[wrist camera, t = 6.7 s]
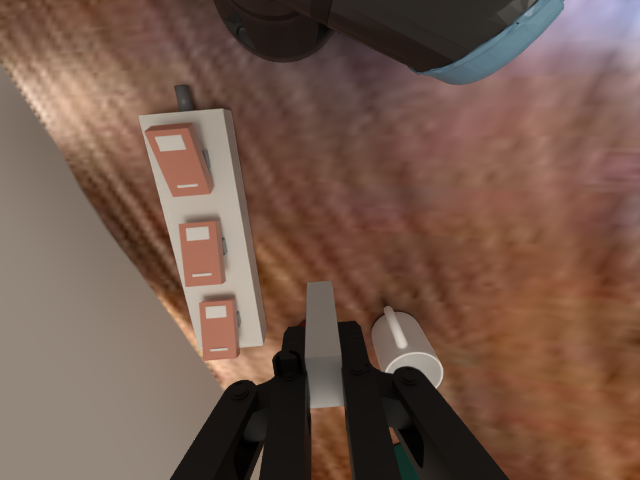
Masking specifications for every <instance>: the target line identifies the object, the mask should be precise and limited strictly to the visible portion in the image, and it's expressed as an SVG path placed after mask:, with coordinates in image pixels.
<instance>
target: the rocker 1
mask: <svg viewBox="0 0 640 480" xmlns="http://www.w3.org/2000/svg"><path fill="white" fill-rule="evenodd" d="M144 132H145V135H146V137H147V139H148V141H149V144H150V146H151V148H152V151H153V153H154V155H155V157H156V160H157V162H158V164H159V167H160V169H161V171H162V173H163V176H164V178H165V180H166V182H167V185H168V187H169V189H170V192H171V194H172V196H173V197H181V196H193V195H205V194H211V192H212V190H213V187H214V186H213V183H212V180H211V177H210V174H209V171H208V168H207V165H206V162H205V159H204V156H203V152H202V149H201V146H200V143H199V140H198V137H197V134H196V131H195V128H194V125H193V122H191V123H179V124H167V125H155V126H150V127H149V128H148V129H147V130H146V131H144Z"/></svg>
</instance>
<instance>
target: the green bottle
mask: <svg viewBox="0 0 640 480" xmlns="http://www.w3.org/2000/svg"><path fill="white" fill-rule="evenodd" d="M394 450H395V454H396V458H397V462H398V466H399V470H400V474H401V477H402V480H420V478H419V476H418V474H417V472H416V471H415V469H414V467H413V465H412V463H411V461H410V460H409V458H408V456H407V454H406V452H405V450H404V448H403V447H402V445H401V444H398V445H395V446H394Z"/></svg>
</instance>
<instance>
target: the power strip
mask: <svg viewBox="0 0 640 480" xmlns="http://www.w3.org/2000/svg"><path fill="white" fill-rule="evenodd" d="M174 87H175V92H176V96H177V101H178V106H179V110H180V112H174V113H162V114H150V115H138V116H139V120H140V124H141V128H142V132H143V136H144V139H145V143H146V147H147V151H148V155H149V159H150V162H151V166H152V170H153V174H154V178H155V182H156V185H157V189H158V193H159V197H160V201H161V205H162V209H163V212H164V216H165V220H166V224H167V228H168V232H169V235H170V239H171V243H172V247H173V251H174V255H175V258H176V262H177V266H178V270H179V274H180V278H181V281H182V285H183V289H184V293H185V297H186V301H187V304H188V308H189V312H190V316H191V320H192V324H193V327H194V331H195V335H196V339H197V343H198V347H199V351H202V350H203V348H202V336H201V323H200V310H199V303H200V302H202V301H204V300H217V299H229V298H236V308H237V321H238V333H239V346H240V347H252V346H263V345H264V341H265V337H266V332H267V326H266V320H265V314H264V308H263V302H262V295H261V289H260V283H259V277H258V271H257V265H256V259H255V253H254V247H253V240H252V234H251V228H250V222H249V216H248V210H247V204H246V198H245V191H244V185H243V179H242V173H241V167H240V161H239V155H238V149H237V143H236V136H235V130H234V124H233V118H232V112H231V111H230V110H226V109H223V108H222V109H210V110H198V111H194V110H193V106H192V101H191V96H190V91H189V86H187V85H177V86H174ZM191 122H193V125H194V128H195V131H196V134H197V137H198V140H199V143H200V146H201V149H202V152H203V156H204V159H205V162H206V165H207V168H208V171H209V174H210V177H211V180H212V183H213V186H214V187H213V190H212V192H211V194H205V195H193V196H181V197H173V196H172V194H171V192H170V189H169V187H168V185H167V182H166V180H165V178H164V176H163V173H162V171H161V169H160V167H159V164H158V162H157V160H156V157H155V155H154V153H153V151H152V148H151V146H150V144H149V141H148V139H147V137H146V135H145V132H144V131H146V130H147V129H148V128H149V127H150V126H155V125H167V124H179V123H191ZM209 221H220V227H221V236H222V246H223V256H224V266H225V276H226V282H224V283H223V284H218V285H205V286H193V287H185V279H184V270H183V261H182V251H181V242H180V233H179V224H185V223H197V222H209Z"/></svg>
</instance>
